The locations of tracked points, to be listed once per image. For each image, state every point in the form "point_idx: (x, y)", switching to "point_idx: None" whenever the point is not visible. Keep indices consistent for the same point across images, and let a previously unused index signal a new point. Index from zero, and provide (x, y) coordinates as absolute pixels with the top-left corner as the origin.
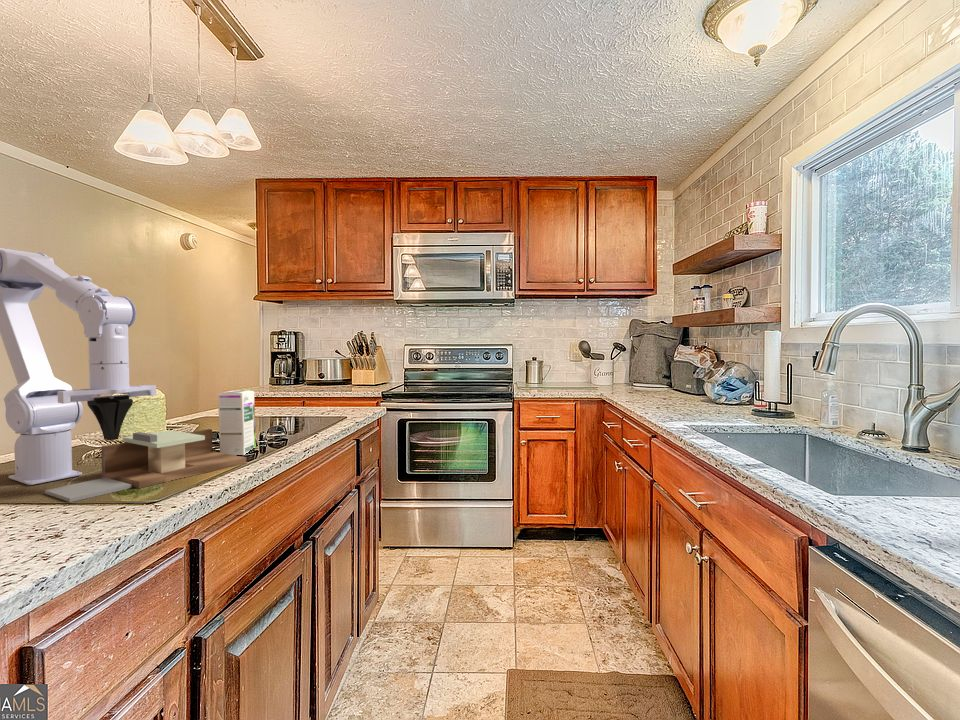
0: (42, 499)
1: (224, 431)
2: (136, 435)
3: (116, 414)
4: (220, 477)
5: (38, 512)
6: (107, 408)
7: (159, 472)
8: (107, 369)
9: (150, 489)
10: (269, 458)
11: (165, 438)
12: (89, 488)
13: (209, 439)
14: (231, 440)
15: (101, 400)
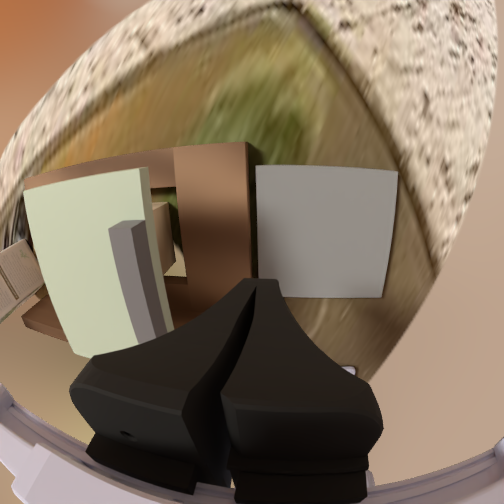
0: (404, 252)
1: (9, 295)
2: (155, 322)
3: (228, 351)
4: (97, 91)
5: (449, 157)
6: (313, 378)
7: (163, 214)
8: None
9: (235, 108)
10: (9, 178)
11: (92, 252)
12: (333, 224)
13: (37, 306)
14: (15, 272)
15: (313, 481)
